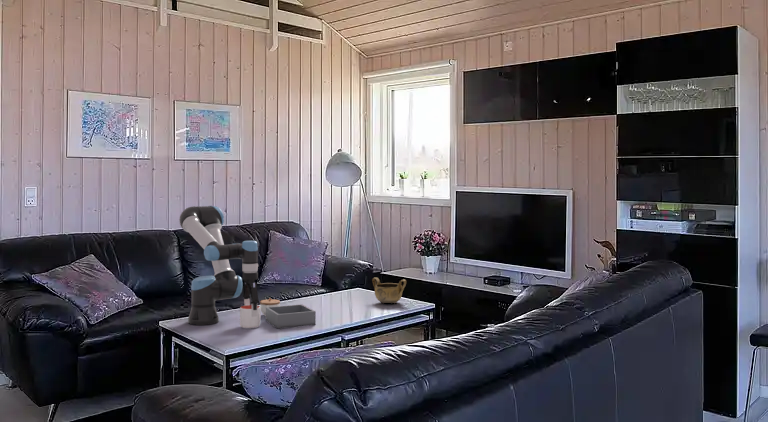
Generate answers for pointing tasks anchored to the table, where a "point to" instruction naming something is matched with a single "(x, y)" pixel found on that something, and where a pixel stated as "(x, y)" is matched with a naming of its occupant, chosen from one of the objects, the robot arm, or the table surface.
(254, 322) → the cup
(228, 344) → the table surface
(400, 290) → the ceramic bowl
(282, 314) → the bin
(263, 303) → the lidded jar
